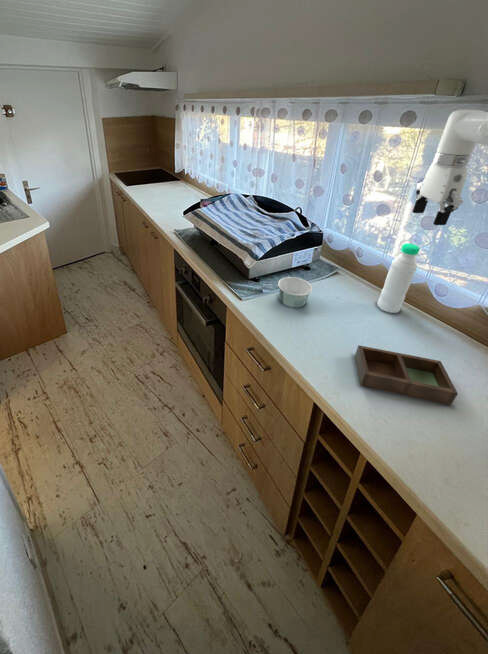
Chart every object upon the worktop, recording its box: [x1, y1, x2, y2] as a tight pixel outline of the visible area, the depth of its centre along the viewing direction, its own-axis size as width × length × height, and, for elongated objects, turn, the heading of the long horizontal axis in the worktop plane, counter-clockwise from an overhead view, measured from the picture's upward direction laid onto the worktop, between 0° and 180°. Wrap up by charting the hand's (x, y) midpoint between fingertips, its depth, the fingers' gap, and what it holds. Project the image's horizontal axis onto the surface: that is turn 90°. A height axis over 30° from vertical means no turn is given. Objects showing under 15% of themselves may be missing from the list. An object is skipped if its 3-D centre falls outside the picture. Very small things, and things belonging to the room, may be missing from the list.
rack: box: [354, 344, 459, 407], centre depth 82 cm, size 20×11×5 cm, turn 72°
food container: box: [277, 276, 313, 308], centre depth 113 cm, size 12×12×6 cm
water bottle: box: [377, 242, 420, 314], centre depth 104 cm, size 7×7×25 cm
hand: (427, 218), depth 92 cm, fingers open, 9 cm apart
